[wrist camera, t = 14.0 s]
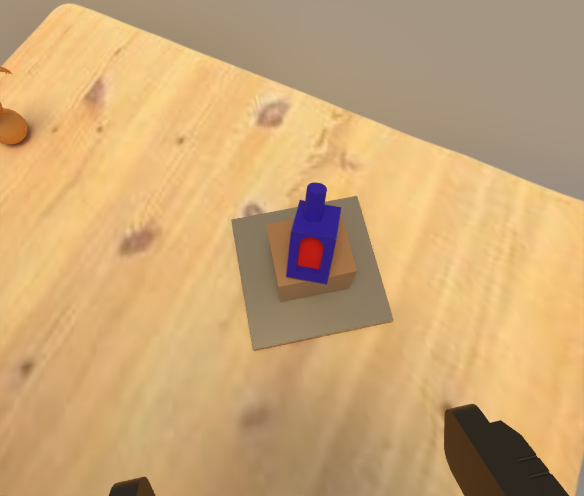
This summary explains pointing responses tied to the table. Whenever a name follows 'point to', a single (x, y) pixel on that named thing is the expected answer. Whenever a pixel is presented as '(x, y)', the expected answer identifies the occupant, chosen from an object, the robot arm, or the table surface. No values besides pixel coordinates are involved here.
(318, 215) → the toy building block
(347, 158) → the table surface
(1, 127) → the figurine
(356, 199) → the plate
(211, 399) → the table surface
